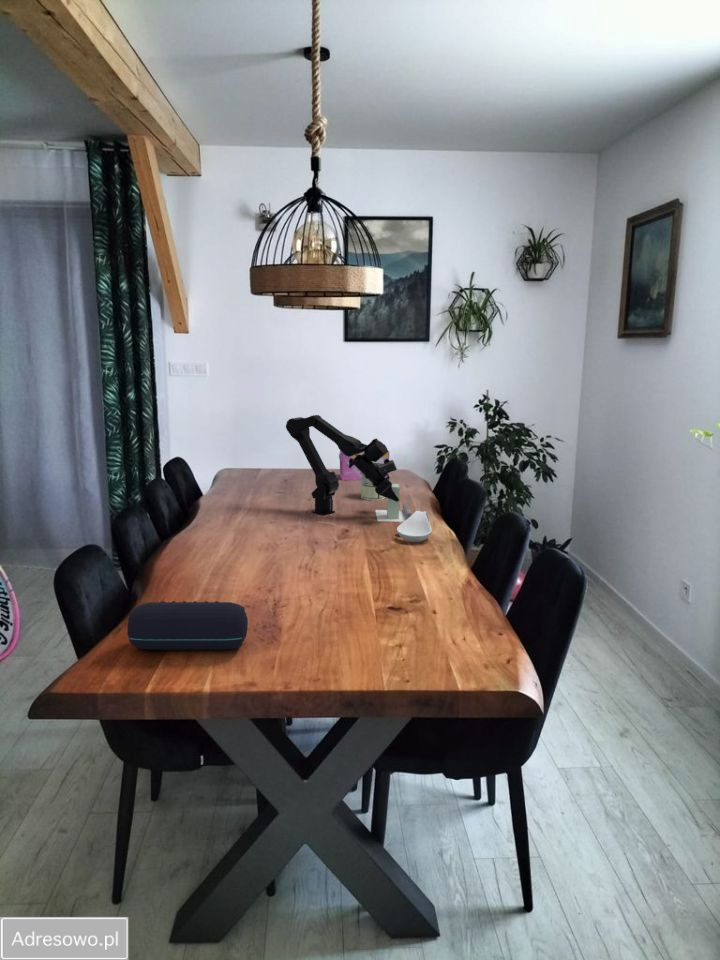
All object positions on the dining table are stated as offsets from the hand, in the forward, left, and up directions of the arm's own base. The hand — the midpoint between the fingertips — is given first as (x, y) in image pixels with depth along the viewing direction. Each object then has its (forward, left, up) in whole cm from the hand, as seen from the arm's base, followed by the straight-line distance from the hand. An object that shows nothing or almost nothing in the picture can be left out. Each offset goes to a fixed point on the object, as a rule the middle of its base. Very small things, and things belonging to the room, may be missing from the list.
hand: (397, 497), depth 247 cm
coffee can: (+18, +29, -8) cm, 35 cm away
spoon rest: (-10, -18, -9) cm, 22 cm away
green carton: (-1, +1, -7) cm, 7 cm away
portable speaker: (-111, -38, -8) cm, 118 cm away
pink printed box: (+44, +59, -8) cm, 74 cm away
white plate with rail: (0, +2, -8) cm, 8 cm away
